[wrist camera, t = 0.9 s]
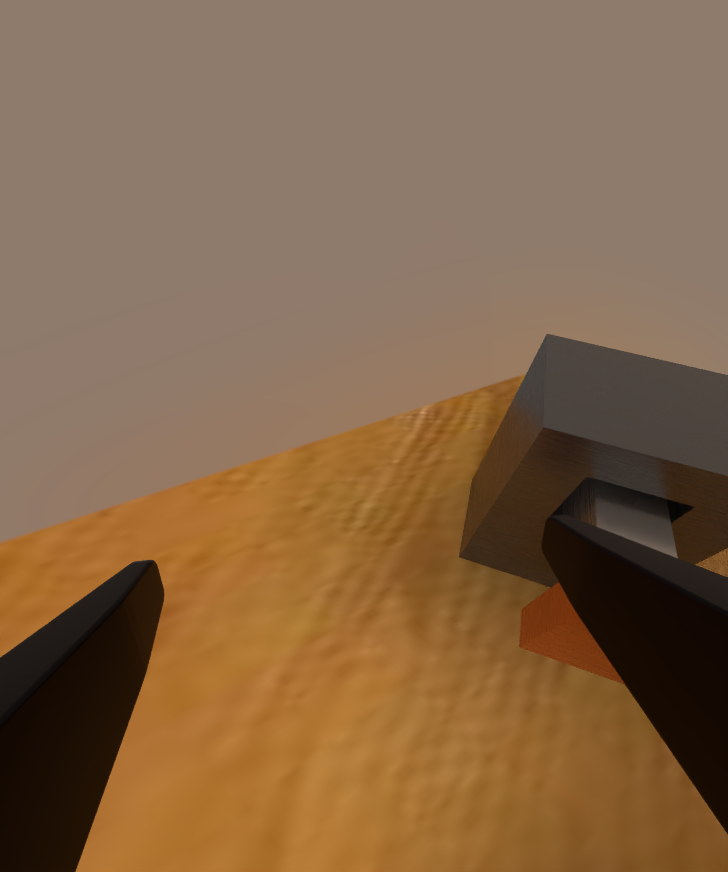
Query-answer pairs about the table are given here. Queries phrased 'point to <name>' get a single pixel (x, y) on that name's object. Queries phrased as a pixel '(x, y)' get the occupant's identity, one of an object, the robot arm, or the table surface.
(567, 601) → the pin
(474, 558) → the block
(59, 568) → the table surface
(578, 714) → the table surface
